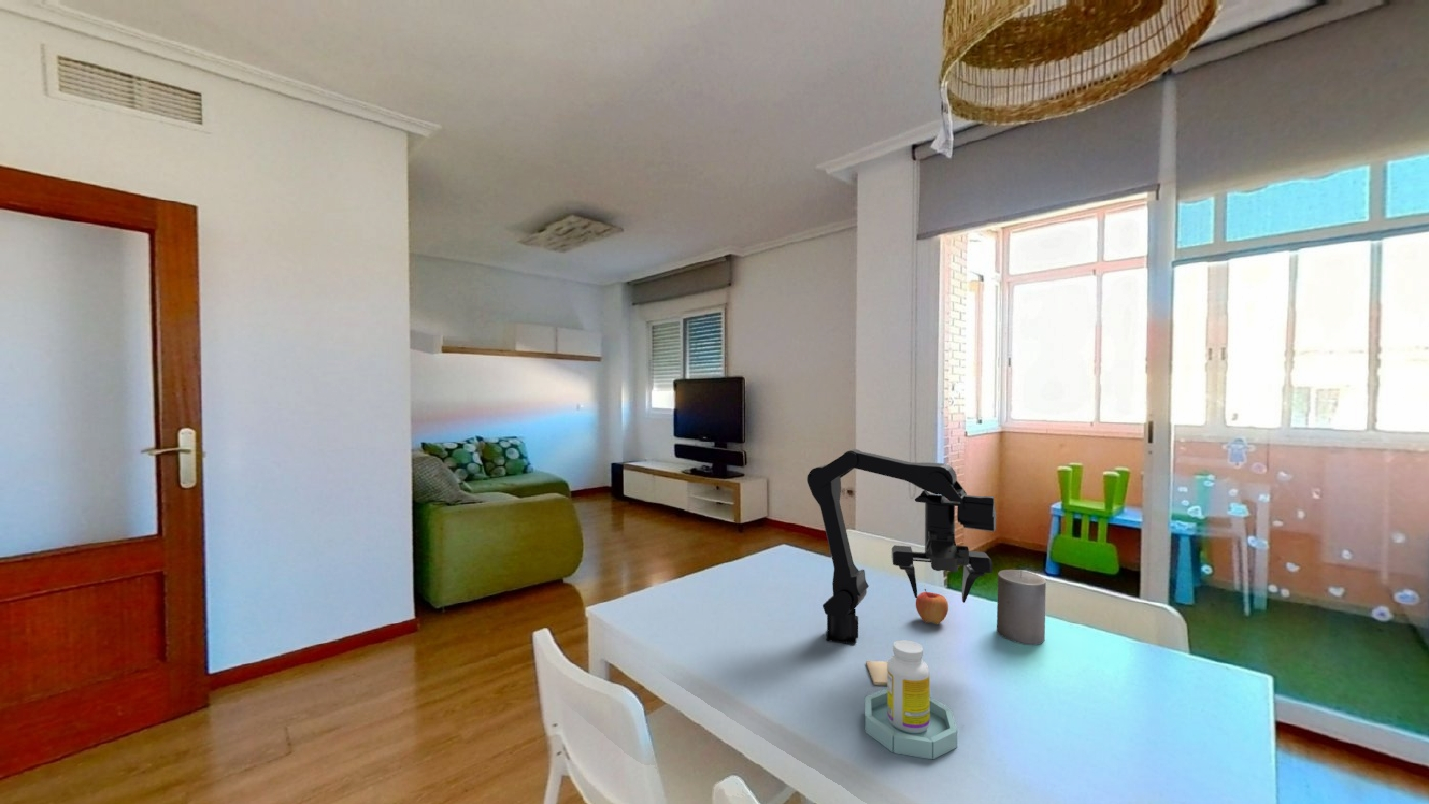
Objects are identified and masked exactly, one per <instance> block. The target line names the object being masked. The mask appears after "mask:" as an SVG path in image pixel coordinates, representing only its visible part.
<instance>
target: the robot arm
mask: <svg viewBox="0 0 1429 804" xmlns="http://www.w3.org/2000/svg"><path fill="white" fill-rule="evenodd" d="M854 469H855V470H860V471H865V472H868V473H873V474H877V475H881V476H885V477H889V478H894V479H898V480H902V481H905V482H908V483H910V484H912V485H914V486H916V487H917V488H919V489H922V491H921V493H920V494H919V495H918V496H917V497H916V498H915V499H914V502H916V503H923V504H924V552H923V551H913V548H912V546H910V545H909V546H908V545H893V546H892V548H891V560H892V565H893V566H896V567H897V566H898V568H899V569H900V570H903V571H904V572H905V573H906V575H907V578H908V581H909V583H910V586H911V588H912V589H911V590H912V592H913V595H914V598H915V599H916V598H917V596H918V588H917V587H918V586H917V580H916V570H915V565H914V562H922V563H924V562H925V563H930V567H931V569H932V570H933V571H935V572H941V571H944V572H950V573H957V572H958V570H959V566H963V571H962V583H961V584H962V585H961V601H962V604H963V603H964V604H965V603H966V601H967V599H968V596H969V593H970V591H971V588H972V586H973V585H974V583H975V581H976V580H977V579H978V578H979V577H985V574H992V573H993V561H992V559H991V558H990V557H989V556H988V554H987V553H986V552H985V551H978V550H977V551H975V550H969V546H967V545H957V543H956V520H957V523H959V525H961V526H963V529H971V530H977V531H978V530H979V531H986V532H993V533H994V532H996V529H997V528H996V527H997V511H996V504H995V497H994V496H990V495H984V496H983V495H982V496H981V495H980V496H979V495H969V494H968V493H967V491H966V490H965V489H964V488H963V486H961V484H960V482H959V481H958V480H957V479H958V476H957V473H956V471H955V469H954V468H953V467H952V466H951V465H949V464H947V463H941V462H913V461H912V462H911V461H906V460H902V459H897V458H893V457H889V456H884V455H879V454H876V453H875V454H874V453H871V452H870V453H869V452H866V451H861V450H859V449H856V448H854V449H851V450H847V451H845V452H843V454H842V455H841V456H839V457H837V458H836V459H834V460H833V461H831V462H829V463H828V464H824V465H820V466H817V467H815V468H812V469H811V470H810V471H809V473H808V474H807V478H806V479H807V484H808V488H809V489H810V492H811V495H812V497H813V498H814V500H815V502H816V503H817V504H818V506H819V508H820V511H821V516H822V520H823V525H824V531H825V533H826V539H827V543H828V547H829V552H830V557H831V561H832V564H833V575H832V582H831V583H832V596H831V597H829V598H828V600H827V601H825V602H824V604H822V607H823V608H822V609H824V610H823V611H824V613H825V615H826V623H827V624H826V637H825V640H826V641H828V642H834V643H841V644H850V645H856V643H857V639H859V616H858V615H857V614H856V608H857V606H859V605H860V603H862V601H863V600H864V599H865V597H866V596H867V592H868V591H867V590H868V589H869V584H868V582H867V580H866V571H865V569H861V570H860V569H858V568H857V566H856V565H855V563H854V560H853V559H854V558H853V555H852V550H851V546H850V543H849V542H850V541H849V537H848V534H847V533H848V532H847V528H846V524H845V523H846V522H845V520H844V516H843V512H842V511H843V510H842V507H841V493H842V478H843V477H844V476H846V475H848V474H849V473H850V472H852V471H853V470H854ZM956 507H957V511H956ZM956 513H957V514H956ZM956 516H957V517H956ZM956 518H957V519H956Z"/></svg>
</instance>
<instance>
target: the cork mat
mask: <svg viewBox="0 0 1429 804" xmlns="http://www.w3.org/2000/svg"><path fill="white" fill-rule="evenodd" d="M865 662H866V663H865V664H866V667H867V669H868V672H869V675H870V677H871V681H872V683H873V685H874V686H887V663H888V661H882V660H881V661H879V660H878V661H877V660H866V661H865Z"/></svg>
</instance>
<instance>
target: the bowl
mask: <svg viewBox="0 0 1429 804" xmlns="http://www.w3.org/2000/svg"><path fill="white" fill-rule="evenodd" d="M929 706H930V724H929V727H928V729H927V730H926V731H924V732H921V733H907V732H904V731H901V730H899V729H897V728H896V727H894V726H893V725H892V724H891V723H890V721H889V719H888V714H887V688H884V689H882V690H879V691H876V692H874V693H872V694H869V695H866V696H865V697H864V725H865V726H864V732H865V733H866V734H868V735H869V736H870V737H871V738H873V740H875V741H877V742H878V743H879V744H881V745H882V746H883V747H885V748H886V749H887V750H889V751H890V752H892V753H894V754H897V755H904V756H912V757H914V758H915V757H916V758H922V759H928V760H932V759H933V760H935V759H937V758H939V757H941V756H942V755H945V754H946V753H948V752H951V751H952V750H955V749H956V748H958V729H957V728H958V727H957V725H956V720H955V717H954V714H953V711H952V710H951V708H949V707H948V706H947V705H944V703H943V704H942V703H941V702H940V701H938V700H936V699H934V698H933V697H931V696H929Z"/></svg>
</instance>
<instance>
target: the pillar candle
mask: <svg viewBox="0 0 1429 804" xmlns="http://www.w3.org/2000/svg"><path fill="white" fill-rule="evenodd" d="M1046 583H1047V580H1046V579H1045V577H1043V576H1041V575H1039V574H1036V573H1032V572H1029V571H1026V570H1019V569H1003V570H999V572H998V573H997V603H996V604H997V607H996V610H997V611H996V614H997V615H996V632H997V633H998V635H1000V636H1001V637H1002V638H1004V639H1006V640H1009V641H1011V642H1013V643H1017V644H1018V643H1019V644H1023V645H1032V646H1033V645H1040V644H1042V643H1043V642H1044V641H1045V638H1046V590H1047V589H1046V588H1047V587H1046Z"/></svg>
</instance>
